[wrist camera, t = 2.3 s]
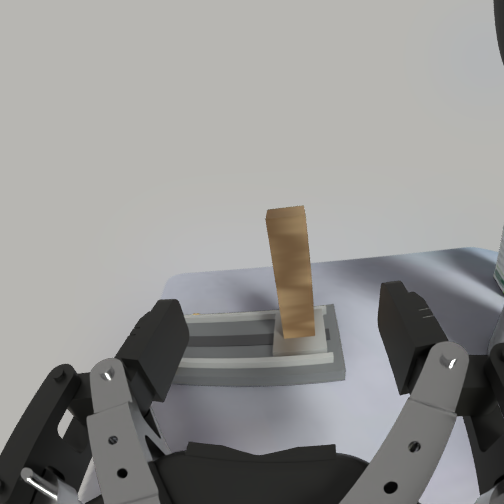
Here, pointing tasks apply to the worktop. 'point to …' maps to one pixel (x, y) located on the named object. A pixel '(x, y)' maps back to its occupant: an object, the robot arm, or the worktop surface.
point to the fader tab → (294, 285)
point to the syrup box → (500, 265)
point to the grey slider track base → (253, 352)
